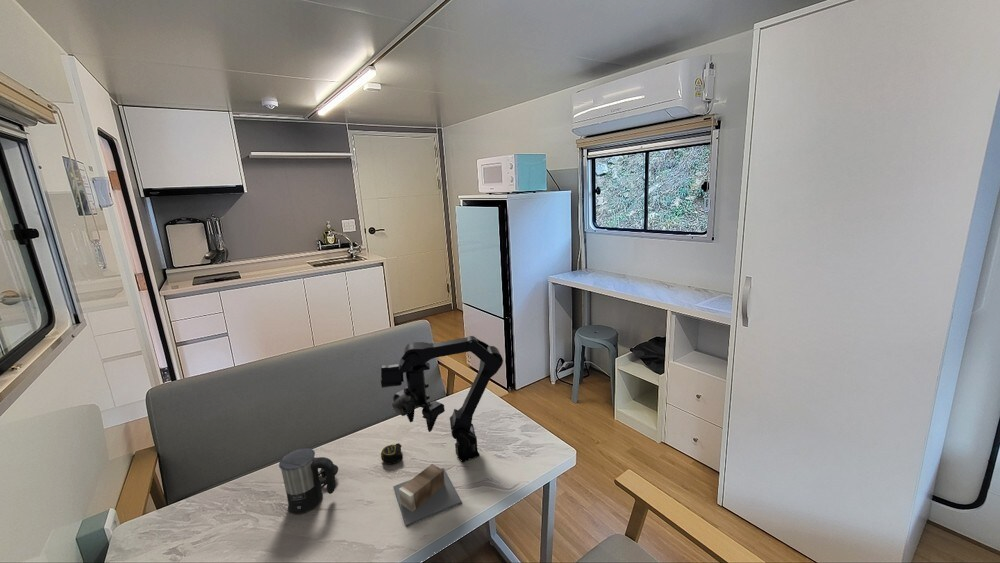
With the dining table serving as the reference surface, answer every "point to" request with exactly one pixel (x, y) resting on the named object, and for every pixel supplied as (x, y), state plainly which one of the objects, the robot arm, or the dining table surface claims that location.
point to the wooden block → (421, 487)
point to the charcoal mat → (430, 502)
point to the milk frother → (306, 479)
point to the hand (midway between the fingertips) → (420, 426)
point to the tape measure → (391, 454)
